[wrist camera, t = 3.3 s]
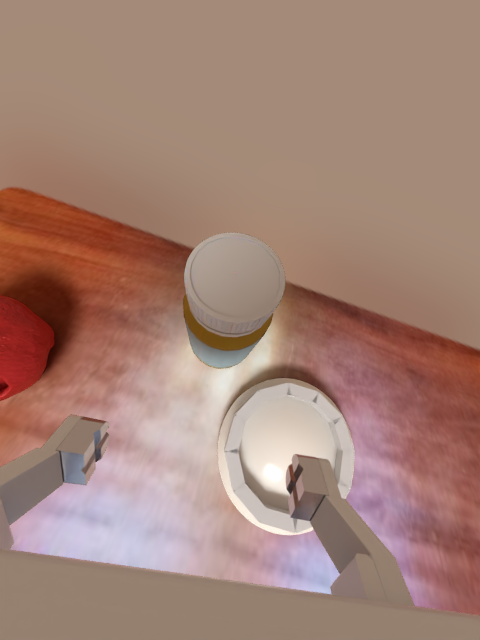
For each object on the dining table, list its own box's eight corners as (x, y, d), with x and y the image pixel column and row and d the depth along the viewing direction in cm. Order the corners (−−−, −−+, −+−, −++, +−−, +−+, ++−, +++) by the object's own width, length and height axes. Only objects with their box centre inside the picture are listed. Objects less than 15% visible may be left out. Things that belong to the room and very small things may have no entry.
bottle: (211, 300, 31) (216, 208, 17) (261, 329, 30) (310, 261, 16) (178, 348, 28) (151, 289, 14) (232, 381, 28) (259, 354, 14)
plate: (373, 447, 27) (387, 451, 25) (289, 569, 23) (297, 584, 21) (281, 353, 30) (287, 349, 27) (188, 447, 25) (186, 451, 23)
